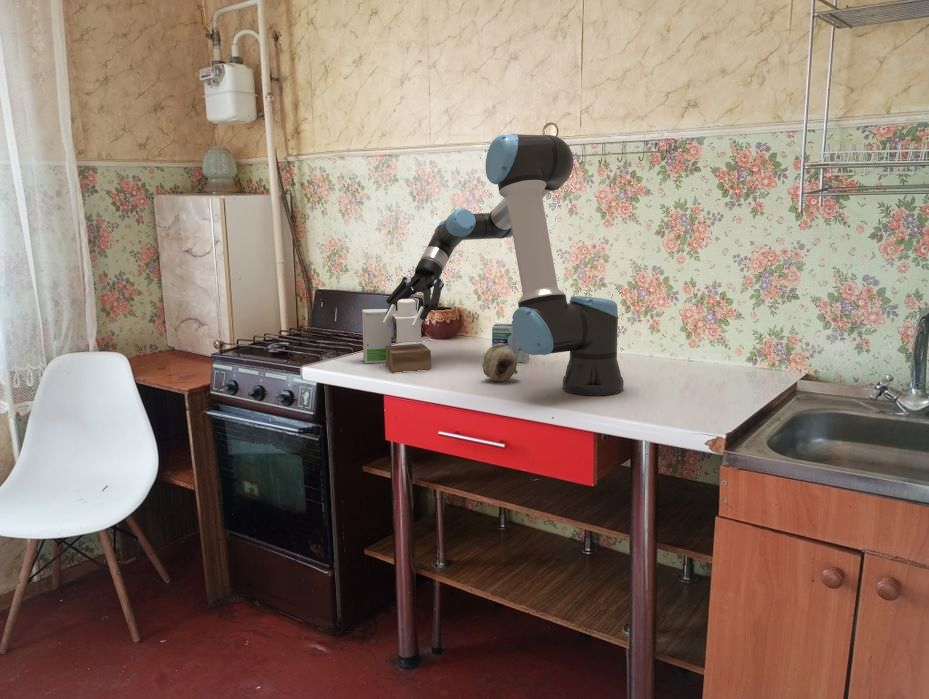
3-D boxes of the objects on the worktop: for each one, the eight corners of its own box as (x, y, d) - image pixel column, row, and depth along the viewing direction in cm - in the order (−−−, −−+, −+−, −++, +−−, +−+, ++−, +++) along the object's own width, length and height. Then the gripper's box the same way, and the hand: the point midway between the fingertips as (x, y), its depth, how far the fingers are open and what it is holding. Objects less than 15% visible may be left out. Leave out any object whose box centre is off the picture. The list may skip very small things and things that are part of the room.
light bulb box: (491, 362, 222) (491, 326, 219) (494, 358, 228) (494, 323, 226) (527, 363, 220) (527, 327, 218) (529, 358, 226) (529, 323, 224)
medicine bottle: (393, 338, 219) (392, 297, 216) (417, 337, 220) (416, 296, 218) (396, 343, 212) (394, 300, 209) (421, 341, 213) (420, 299, 211)
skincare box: (365, 364, 223) (362, 312, 220) (363, 359, 229) (360, 309, 226) (393, 362, 225) (391, 310, 222) (390, 357, 231) (388, 307, 228)
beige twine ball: (476, 380, 200) (476, 344, 198) (498, 375, 206) (497, 339, 204) (503, 386, 193) (502, 348, 191) (524, 380, 199) (524, 343, 197)
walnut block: (431, 370, 214) (430, 350, 212) (393, 373, 211) (392, 353, 209) (422, 363, 224) (422, 343, 223) (386, 366, 221) (385, 346, 220)
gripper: (467, 275, 219) (438, 337, 209) (407, 272, 231) (376, 331, 221) (457, 258, 213) (426, 321, 204) (395, 256, 225) (363, 315, 216)
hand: (400, 326), depth 212 cm, fingers closed on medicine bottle, 10 cm apart
